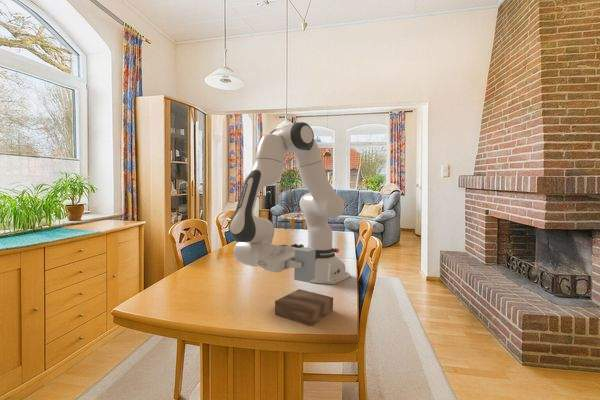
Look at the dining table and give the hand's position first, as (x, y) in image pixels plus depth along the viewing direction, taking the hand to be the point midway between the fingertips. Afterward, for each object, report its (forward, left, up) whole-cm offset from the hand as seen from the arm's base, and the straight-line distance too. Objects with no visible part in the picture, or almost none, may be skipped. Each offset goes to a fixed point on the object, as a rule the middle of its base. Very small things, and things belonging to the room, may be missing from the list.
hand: (307, 263), depth 102 cm
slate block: (0, -1, -5) cm, 6 cm away
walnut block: (0, -1, -17) cm, 17 cm away
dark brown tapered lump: (-44, -60, -17) cm, 76 cm away
